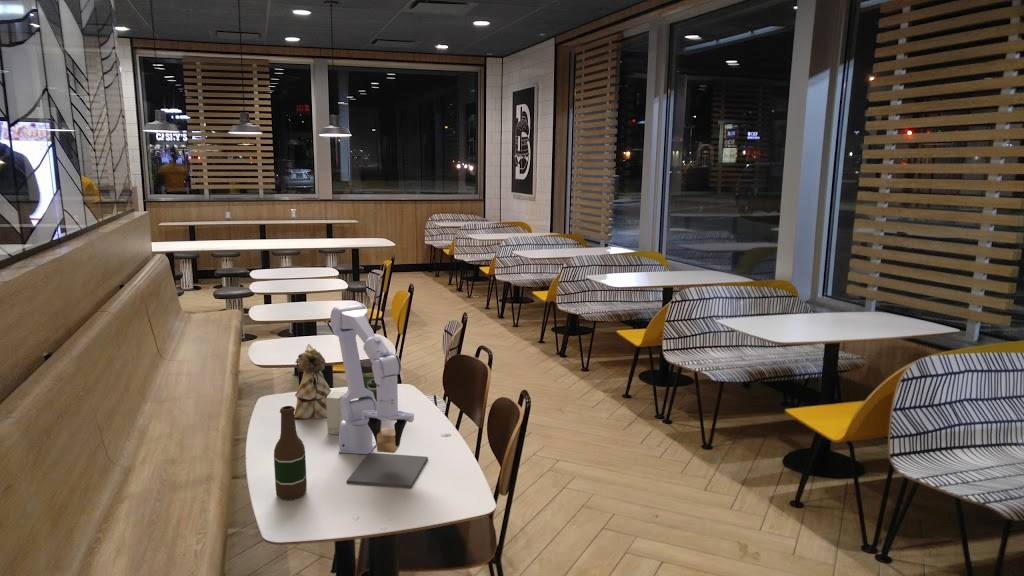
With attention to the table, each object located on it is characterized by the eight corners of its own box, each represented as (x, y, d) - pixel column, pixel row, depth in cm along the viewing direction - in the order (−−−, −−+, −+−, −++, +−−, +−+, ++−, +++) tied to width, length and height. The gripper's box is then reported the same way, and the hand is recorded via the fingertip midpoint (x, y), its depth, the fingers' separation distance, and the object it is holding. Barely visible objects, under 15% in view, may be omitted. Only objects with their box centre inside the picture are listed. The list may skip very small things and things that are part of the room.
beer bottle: (274, 489, 181) (270, 404, 176) (305, 484, 184) (301, 400, 180) (277, 503, 174) (272, 414, 169) (308, 498, 177) (304, 410, 173)
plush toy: (348, 406, 239) (330, 338, 235) (328, 421, 226) (309, 350, 222) (313, 410, 243) (295, 344, 239) (292, 426, 230) (272, 356, 226)
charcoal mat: (346, 483, 185) (346, 480, 185) (368, 455, 203) (368, 452, 203) (410, 488, 183) (410, 485, 183) (427, 459, 201) (427, 456, 200)
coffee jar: (382, 404, 244) (380, 354, 240) (388, 412, 237) (387, 360, 234) (355, 408, 240) (353, 358, 236) (361, 416, 233) (359, 364, 229)
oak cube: (377, 451, 190) (376, 434, 189) (382, 444, 195) (382, 428, 194) (394, 453, 189) (394, 436, 188) (399, 445, 194) (399, 429, 193)
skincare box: (339, 435, 217) (338, 398, 215) (326, 433, 218) (325, 397, 216) (348, 427, 223) (347, 392, 221) (335, 426, 224) (334, 391, 222)
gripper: (357, 401, 186) (358, 448, 188) (408, 404, 184) (409, 451, 187) (365, 392, 193) (367, 437, 195) (415, 395, 191) (416, 441, 193)
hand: (388, 444), depth 191 cm, fingers closed on oak cube, 5 cm apart
